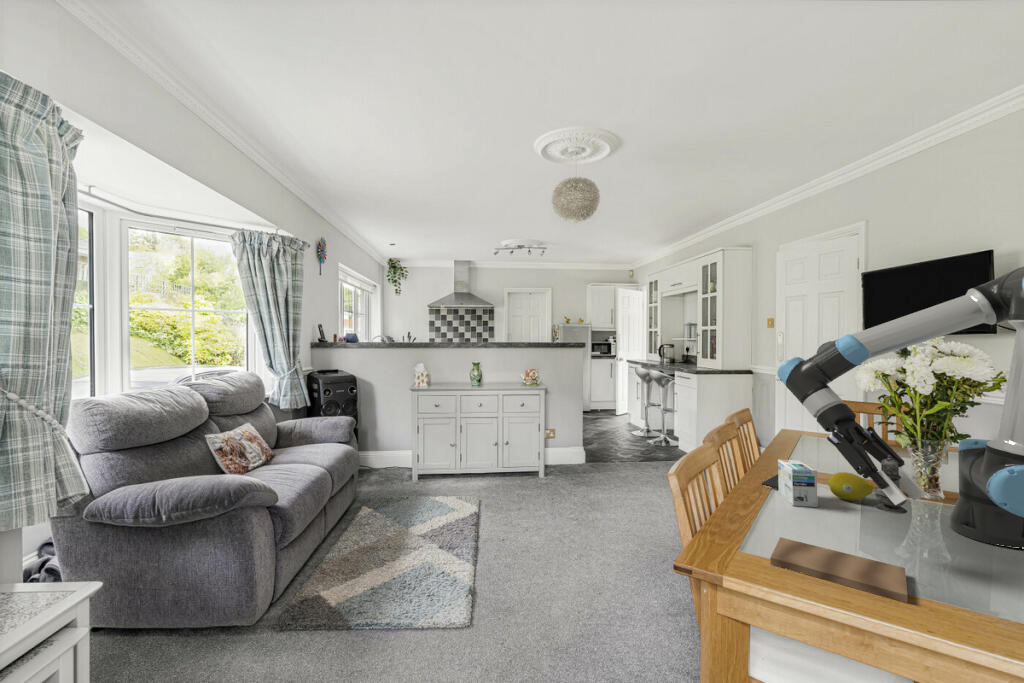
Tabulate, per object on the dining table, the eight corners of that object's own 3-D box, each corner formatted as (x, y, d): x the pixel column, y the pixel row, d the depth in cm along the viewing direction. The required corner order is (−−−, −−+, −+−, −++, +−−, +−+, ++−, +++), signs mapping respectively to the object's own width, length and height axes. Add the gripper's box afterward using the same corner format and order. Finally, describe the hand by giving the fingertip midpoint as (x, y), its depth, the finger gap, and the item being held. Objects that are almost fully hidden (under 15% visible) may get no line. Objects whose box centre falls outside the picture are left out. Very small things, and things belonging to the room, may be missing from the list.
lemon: (822, 497, 131) (822, 471, 131) (833, 491, 135) (833, 466, 135) (866, 509, 122) (866, 480, 122) (877, 502, 126) (876, 475, 126)
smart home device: (760, 482, 141) (784, 469, 154) (760, 487, 141) (784, 474, 154) (788, 489, 135) (811, 475, 147) (789, 494, 135) (811, 480, 147)
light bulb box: (818, 507, 123) (818, 470, 123) (792, 506, 125) (791, 469, 125) (801, 494, 134) (800, 459, 134) (777, 493, 135) (776, 458, 135)
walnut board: (905, 575, 89) (904, 567, 89) (907, 603, 80) (907, 595, 80) (780, 543, 103) (780, 537, 103) (770, 564, 94) (770, 557, 94)
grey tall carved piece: (873, 501, 99) (872, 449, 99) (908, 507, 96) (906, 453, 96) (873, 510, 95) (872, 455, 95) (910, 516, 91) (908, 460, 91)
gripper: (844, 416, 113) (923, 501, 97) (792, 423, 107) (868, 514, 91) (866, 398, 108) (953, 484, 92) (813, 404, 101) (897, 498, 86)
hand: (910, 499), depth 92 cm, fingers closed on grey tall carved piece, 5 cm apart
